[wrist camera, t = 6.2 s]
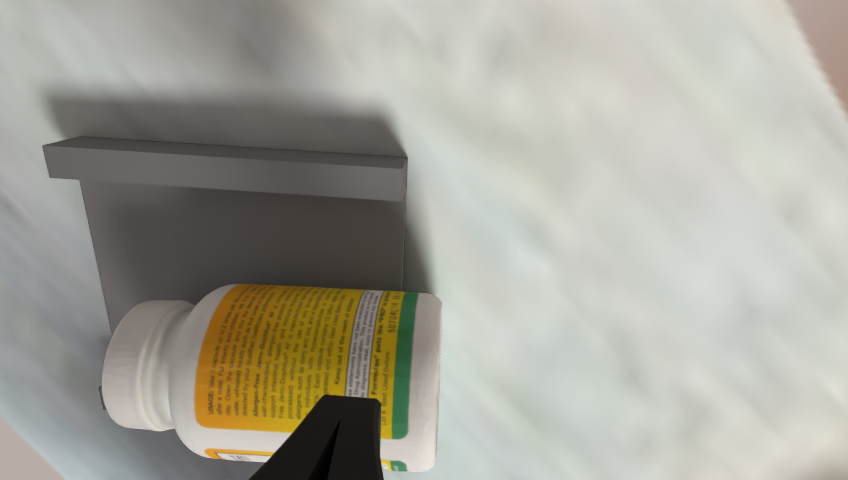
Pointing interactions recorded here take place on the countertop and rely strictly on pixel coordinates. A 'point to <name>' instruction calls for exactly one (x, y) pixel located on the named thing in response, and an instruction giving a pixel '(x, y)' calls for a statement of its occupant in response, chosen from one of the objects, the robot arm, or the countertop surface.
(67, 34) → the countertop surface
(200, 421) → the supplement bottle
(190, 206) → the stand
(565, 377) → the countertop surface
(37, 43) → the countertop surface
